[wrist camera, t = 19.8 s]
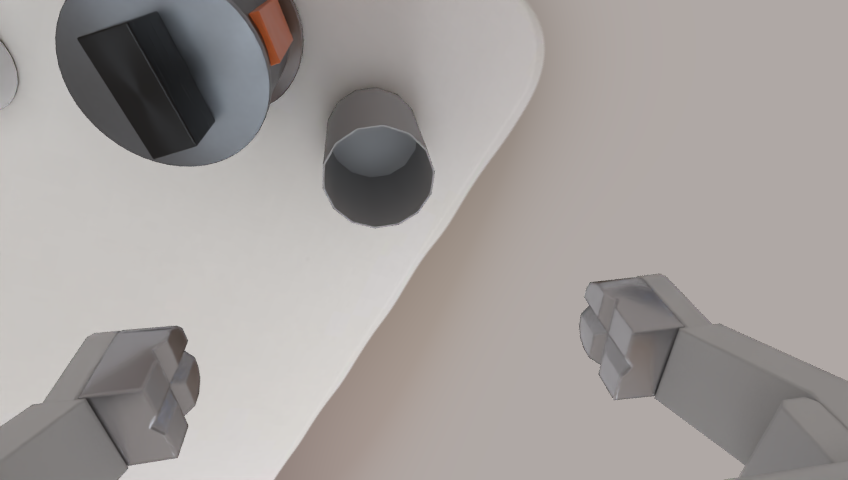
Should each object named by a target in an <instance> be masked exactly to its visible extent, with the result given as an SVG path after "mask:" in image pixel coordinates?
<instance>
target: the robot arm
mask: <svg viewBox="0 0 848 480" xmlns="http://www.w3.org/2000/svg"><path fill="white" fill-rule="evenodd" d="M584 298H585V299H586V301H587V302H588V304H589V306H588V307H587V308H586V309H585V311H584V312H583V313H582V314H581V317H580V324H579V330H580V338H581V342H582V345H583V348H584V350H585V351H586V353H587V355H588V357H589V358H590V359H592V360H594V361H595V362H597V363H598V364H600V365H601V366H600V370H599V376H600V378H601V379H602V381H603V383H604V384H605V386H606V388H607V389H608V391H609V393H610V395H611V396H612V398H613V400H620V399H630V398H639V397H649V396H655V399H656V400H658V401H659V402H661V403H662V404H663V405H665V406H666V407H667V408H669V409H670V410H671V411H673V412H674V413H675V414H677V415H678V416H680V417H681V418H682V419H683V420H685V421H686V422H688V423H689V424H690V425H692V426H693V427H694V428H696V429H697V430H698V431H700V432H701V433H702V434H704V435H705V436H706V437H708V438H709V439H711V440H712V441H713V442H714V443H716V444H717V445H719V446H720V447H721V448H723V449H724V450H725V451H727V452H728V453H730V454H731V455H732V456H733V457H735V458H736V459H737V460H739V461H740V462H742V463H743V464H744V465H745V467H744V469H743V470H742V472H741V474H740V475H739V477H738V478H733V479H726V480H848V381H846V380H844V379H842V378H840V377H837V376H835V375H833V374H831V373H828V372H826V371H824V370H822V369H820V368H817V367H815V366H813V365H811V364H808V363H806V362H804V361H801V360H799V359H797V358H795V357H792V356H791V355H788V354H786V353H784V352H782V351H779V350H777V349H775V348H773V347H771V346H768V345H766V344H764V343H762V342H760V341H757V340H755V339H753V338H751V337H748V336H746V335H744V334H742V333H739V332H737V331H735V330H733V329H730V328H728V327H726V326H724V325H722V324H712V323H711V322H710V321H709V320H708V319H707V318H706V317H705V316H704V315H703V314H702V313H701V312H700V311H699V310H698V309H697V308H696V307H695V306H694V305H693V304H692V303H691V302H690V301H689V300H688V299H687V297H685V295H684V294H683V293H682V292H681V291H680V290H679V289H678V288H677V287H676V286H675V285H674V284H673V283H672V282H671V281H670V280H669V279H668V278H667V277H666V276H664V275H662V274H653V275H644V276H637V277H634V278H624V279H615V280H606V281H598V282H590V283H589V285H588V287H587V288H586V293H585V297H584ZM187 342H188V339H187V337H186V335H185V333H184V331H183V329H182V328H181V327H178V326H167V327H155V328H143V329H131V330H122V331H112V332H101V333H94V334H92V335H90V336H88V337H87V338H86V339H85V341H84V342H83V344H82V345H81V347H80V348H79V349H78V351H77V352H76V354H75V355H74V357H73V358H72V360H71V361H70V363H69V364H68V366H67V367H66V369H65V370H64V372H63V373H62V375H61V376H60V378H59V379H58V381H57V382H56V384H55V385H54V387H53V388H52V390H51V391H50V393H49V394H48V396H47V397H46V399H45V400H44V402H43V403H41V404H34V405H31V406H30V407H28V408H27V409H25V410H24V411H23V412H21V413H20V414H18V415H17V416H15V417H14V418H12V419H11V420H9V421H8V422H6V423H5V424H4V425H2V426H1V427H0V480H118V479H119V478H120V477H121V476H122V475H123V474H124V473H125V471H126V470H127V469H128V466H129V465H136V464H142V463H148V462H155V461H161V460H167V459H173V458H178V455H179V452H180V449H181V446H182V443H183V440H184V437H185V434H186V432H187V429H188V424H187V422H186V419H185V417H184V416H185V415H186V414H187V413H188V412H189V411H190V410H191V409H192V408H193V407H194V406H195V404H196V401H197V398H198V395H199V387H200V374H199V368H198V365H197V362H196V359H195V357H193V356H192V355H190V354H189V353H187V352H186V351H184V350H185V347H186V345H187Z"/></svg>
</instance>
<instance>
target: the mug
mask: <svg viewBox="0 0 848 480" xmlns="http://www.w3.org/2000/svg"><path fill="white" fill-rule="evenodd" d="M17 85H18V79H17V70H16V67H15V65H14V62H13V59H12V57H11V55H10V54H9V52H8V51H7V49H6V48H5V46H4V45H3V43H2V42H1V41H0V109H2V108H4V107H5V106H7V105H8V104H9V103H10V101H11V100H12V99H13V97H14V96H15V93H16V89H17Z"/></svg>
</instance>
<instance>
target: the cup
mask: <svg viewBox="0 0 848 480" xmlns="http://www.w3.org/2000/svg"><path fill="white" fill-rule="evenodd" d="M434 174H435V171H434V168H433V165H432V162H431V159H430V156H429V154H428V151H427V148H426V145H425V143H424V140H423V137H422V135H421V132H420V129H419V127H418V124H417V122H416V119H415V116H414V114H413V111H412V109H411V108H410V107H409V106H408V105H407V104H406V103H405V102H404V101H403V100H402V99H401V98H400V97H399V96H398V95H397V94H394V93H391V92H388V91H385V90H382V89H379V88H370V89H363V90H355V91H354V92H352V93H351V94H349V95H348V96H346V97H345V98H344V99H342V100H341V101H339V102H338V103H337V105H336V107H335V108H334V110H333V112H332V114H331V116H330V118H329V119H328V125H327V134H326V143H325V152H324V161H323V190H324V192H325V194H326V195H327V197H328V199H329V201H330V203H331V205H332V207H333V209H334V210H336V211H337V212H338V213H340V214H341V215H342V216H344V217H345V218H346V219H348V220H349V221H350V222H352V223H355V224H359V225H363V226H368V227H372V228H380V227H387V226H393V225H399V224H400V223H402V222H404V221H405V220H407V219H409V218H410V217H412V216H414V215H415V214H417V213H419V211H420V210H421V208H422V207H423V205H424V204H425V202H426V201H427V200H428V198H429V197H430V195H431V193H432V187H433V180H434Z"/></svg>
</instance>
